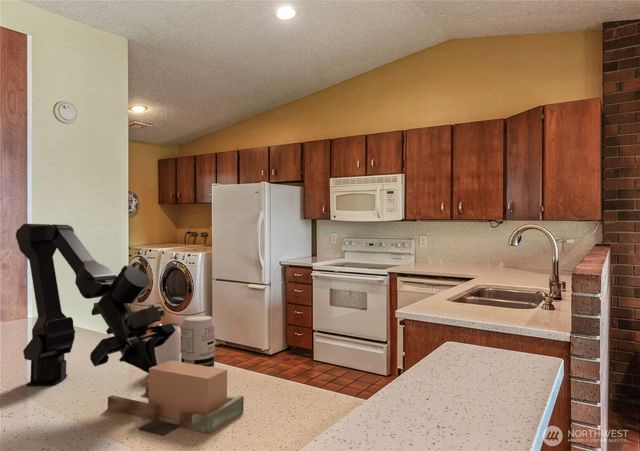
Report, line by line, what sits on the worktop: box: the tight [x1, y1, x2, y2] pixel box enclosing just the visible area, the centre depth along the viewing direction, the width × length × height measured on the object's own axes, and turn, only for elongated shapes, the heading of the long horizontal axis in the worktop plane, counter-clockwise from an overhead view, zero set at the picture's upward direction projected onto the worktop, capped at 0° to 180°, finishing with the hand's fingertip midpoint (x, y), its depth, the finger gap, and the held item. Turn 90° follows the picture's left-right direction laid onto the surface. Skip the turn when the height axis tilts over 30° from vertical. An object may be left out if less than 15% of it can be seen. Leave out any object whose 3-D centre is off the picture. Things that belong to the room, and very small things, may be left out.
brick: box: [147, 360, 228, 420], centre depth 84 cm, size 15×6×9 cm, turn 66°
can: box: [155, 322, 182, 365], centre depth 111 cm, size 6×6×12 cm
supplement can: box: [180, 315, 216, 368], centre depth 106 cm, size 8×8×15 cm
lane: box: [107, 379, 245, 436], centre depth 86 cm, size 26×19×3 cm
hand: (155, 374), depth 88 cm, fingers closed
